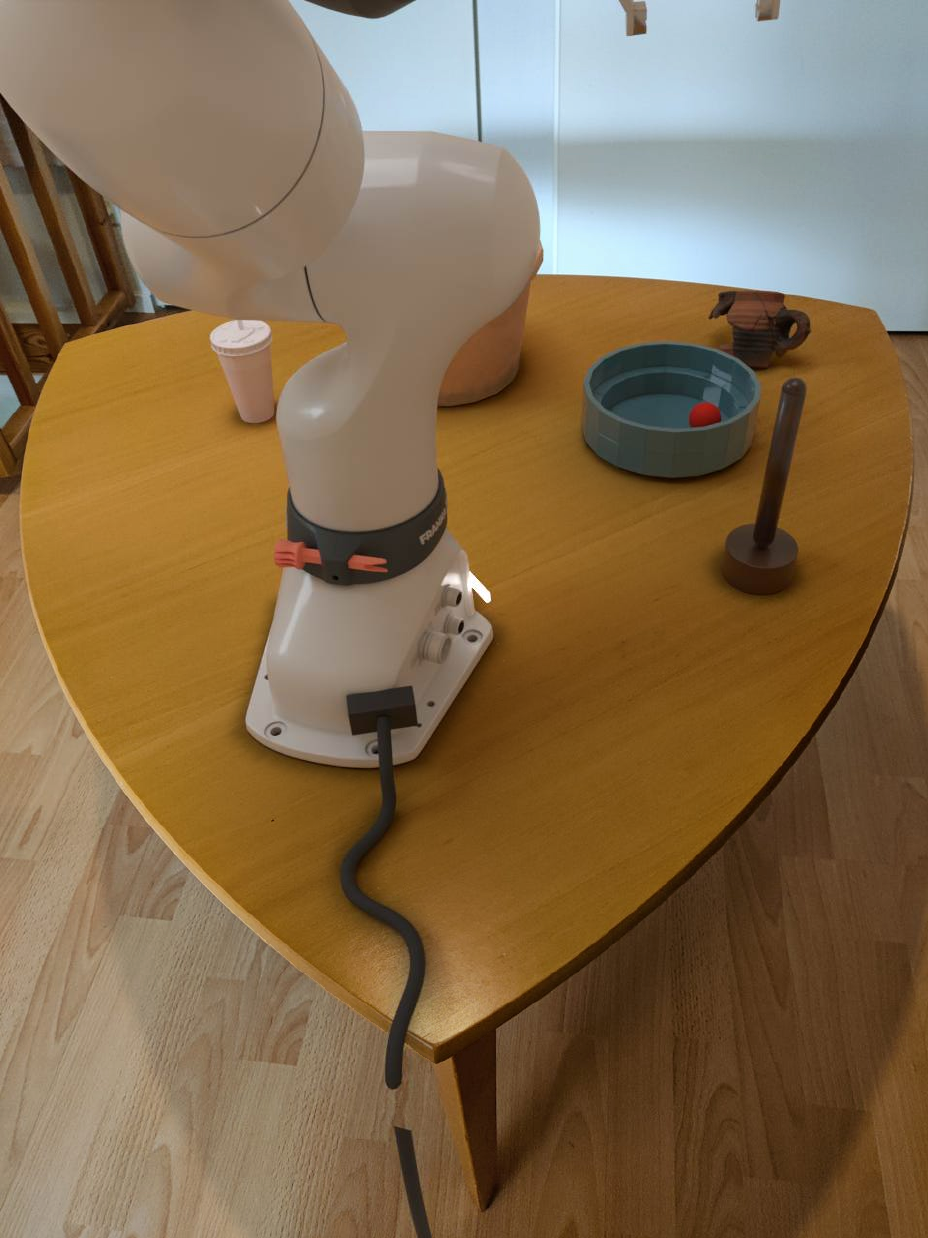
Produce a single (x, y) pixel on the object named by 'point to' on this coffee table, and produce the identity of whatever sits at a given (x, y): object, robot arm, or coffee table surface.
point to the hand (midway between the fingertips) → (700, 25)
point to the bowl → (669, 408)
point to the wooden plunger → (769, 511)
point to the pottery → (488, 354)
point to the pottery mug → (760, 325)
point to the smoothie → (247, 366)
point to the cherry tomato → (704, 415)
